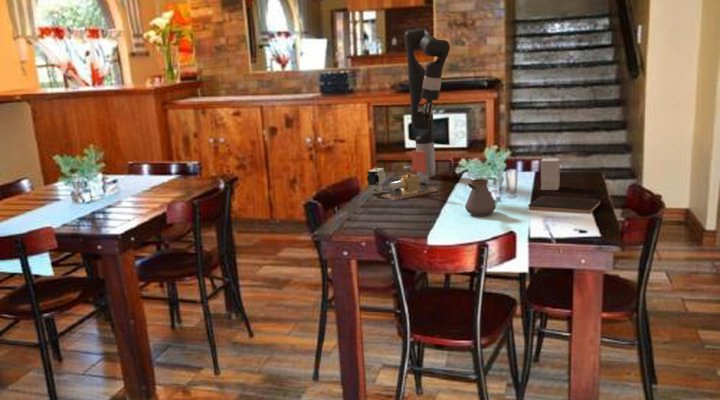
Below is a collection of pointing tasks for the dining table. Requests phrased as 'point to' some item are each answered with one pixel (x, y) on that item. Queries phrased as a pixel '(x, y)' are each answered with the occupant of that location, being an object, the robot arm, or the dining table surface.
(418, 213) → the dining table surface
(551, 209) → the hardcover book
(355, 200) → the dining table surface
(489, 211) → the coffee pot
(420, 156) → the lever
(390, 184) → the valve body
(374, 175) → the pneumatic valve
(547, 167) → the supplement box
